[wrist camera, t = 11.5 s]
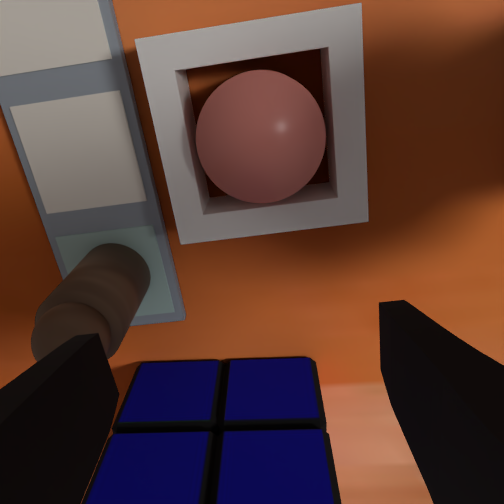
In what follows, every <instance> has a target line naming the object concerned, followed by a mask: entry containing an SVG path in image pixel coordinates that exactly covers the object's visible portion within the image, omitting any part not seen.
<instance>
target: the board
mask: <svg viewBox="0 0 504 504" xmlns="http://www.w3.org/2000/svg"><path fill="white" fill-rule="evenodd" d="M0 105H1V107H2V110H3V113H4V116H5V119H6V121H7V124H8V127H9V130H10V133H11V135H12V138H13V141H14V144H15V147H16V149H17V152H18V155H19V158H20V161H21V163H22V166H23V169H24V172H25V175H26V177H27V180H28V183H29V186H30V189H31V191H32V194H33V197H34V200H35V203H36V205H37V208H38V211H39V214H40V217H41V219H42V222H43V225H44V228H45V231H46V233H47V236H48V239H49V242H50V245H51V247H52V250H53V253H54V256H55V259H56V261H57V264H58V267H59V270H60V273H61V275H62V278H63V280H64V279H65V278H66V277H67V275H68V274H69V273H70V272H71V271H72V270H73V269H74V268H75V267H76V266H77V265H78V263H79V262H80V261H81V260H82V259H83V258H84V257H85V256H86V255H87V254H88V253H89V252H90V251H91V250H92V249H93V248H95V247H97V246H99V245H102V244H107V243H117V244H122V245H125V246H127V247H130V248H131V249H133V250H135V251H136V252H137V253H139V254H140V255H141V256H142V258H143V259H144V260H145V262H146V263H147V265H148V267H149V270H150V275H151V280H150V286H149V288H148V290H147V292H146V294H145V296H144V298H143V300H142V302H141V304H140V306H139V308H138V310H137V312H136V314H135V316H134V318H133V320H132V322H131V324H130V326H135V325H145V324H154V323H163V322H172V321H181V320H185V317H186V312H185V308H184V304H183V300H182V295H181V291H180V287H179V283H178V278H177V274H176V270H175V266H174V262H173V257H172V253H171V249H170V245H169V240H168V236H167V232H166V228H165V223H164V219H163V215H162V211H161V206H160V202H159V198H158V194H157V190H156V185H155V181H154V177H153V173H152V168H151V164H150V160H149V156H148V151H147V147H146V143H145V139H144V134H143V130H142V126H141V122H140V118H139V113H138V109H137V105H136V101H135V96H134V92H133V88H132V84H131V79H130V75H129V71H128V67H127V63H126V58H125V54H124V50H123V46H122V41H121V37H120V33H119V29H118V24H117V20H116V16H115V12H114V7H113V3H112V0H0Z"/></svg>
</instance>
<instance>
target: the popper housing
mask: <svg viewBox="0 0 504 504" xmlns="http://www.w3.org/2000/svg"><path fill="white" fill-rule="evenodd" d="M135 44H136V48H137V53H138V57H139V62H140V66H141V70H142V75H143V79H144V84H145V88H146V93H147V97H148V102H149V106H150V111H151V115H152V119H153V124H154V128H155V133H156V137H157V142H158V146H159V151H160V155H161V159H162V164H163V168H164V173H165V177H166V182H167V186H168V191H169V195H170V199H171V204H172V208H173V213H174V217H175V222H176V226H177V231H178V235H179V240H180V244H181V245H182V244H191V243H199V242H207V241H215V240H223V239H231V238H240V237H248V236H256V235H264V234H272V233H280V232H289V231H297V230H305V229H313V228H321V227H329V226H338V225H346V224H354V223H362V222H369V217H368V186H367V156H366V125H365V95H364V64H363V34H362V3H357V4H350V5H344V6H338V7H332V8H326V9H319V10H313V11H307V12H301V13H295V14H288V15H282V16H276V17H270V18H264V19H257V20H251V21H245V22H239V23H232V24H226V25H220V26H214V27H208V28H201V29H195V30H189V31H183V32H177V33H170V34H164V35H158V36H152V37H146V38H139V39H135ZM315 49H320V57H321V71H322V86H323V100H324V115H325V129H326V143H327V158H328V172H329V182H326V183H318V184H311V185H305V186H304V187H303V188H301V189H300V190H299V191H298V192H296V193H294V194H293V195H291V196H289V197H287V198H285V199H282V200H279V201H276V202H270V203H251V202H245V201H242V200H239V199H236V198H234V197H232V196H230V195H226V196H219V197H211V198H210V197H209V192H208V186H207V181H206V175H205V170H204V168H203V167H202V164H201V162H200V159H199V156H198V152H197V146H196V128H197V127H196V122H195V116H194V111H193V106H192V100H191V95H190V90H189V84H188V79H187V74H186V69H192V68H199V67H205V66H211V65H218V64H224V63H231V62H237V61H244V60H250V59H257V58H263V57H270V56H276V55H283V54H289V53H296V52H302V51H309V50H315Z"/></svg>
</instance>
